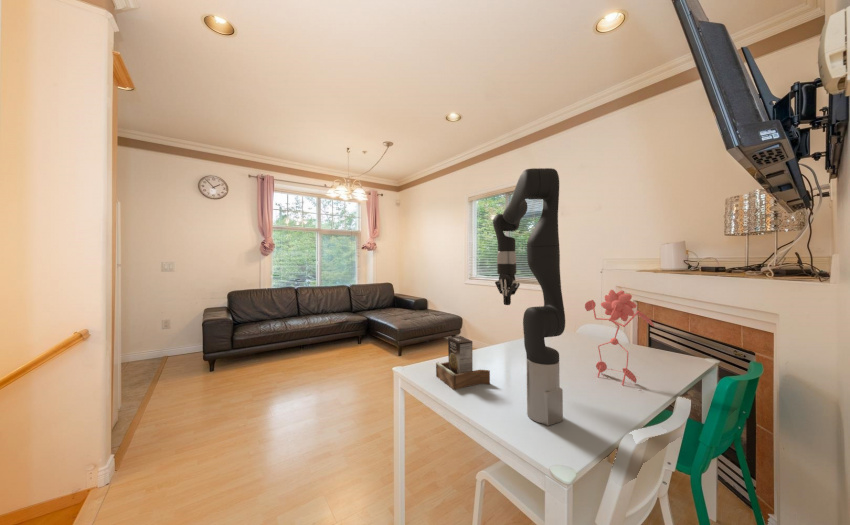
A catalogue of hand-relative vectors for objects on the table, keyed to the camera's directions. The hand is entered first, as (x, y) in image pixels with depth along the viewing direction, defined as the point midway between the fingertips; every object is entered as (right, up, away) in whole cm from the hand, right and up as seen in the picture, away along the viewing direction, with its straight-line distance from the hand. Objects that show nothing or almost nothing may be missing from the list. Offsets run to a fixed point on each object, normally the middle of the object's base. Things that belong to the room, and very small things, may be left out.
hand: (507, 304), depth 121 cm
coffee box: (-20, -30, -3) cm, 36 cm away
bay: (-19, -29, -3) cm, 35 cm away
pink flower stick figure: (+44, -29, -4) cm, 52 cm away
